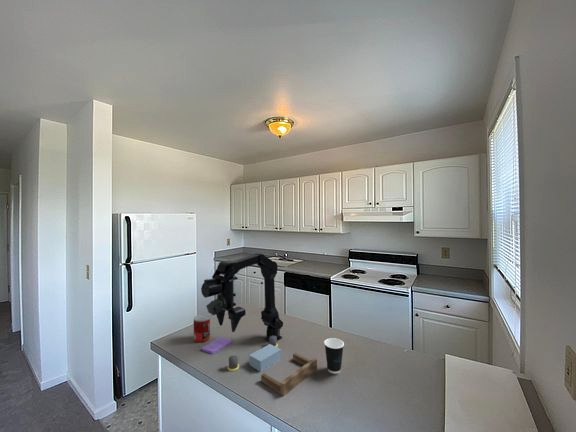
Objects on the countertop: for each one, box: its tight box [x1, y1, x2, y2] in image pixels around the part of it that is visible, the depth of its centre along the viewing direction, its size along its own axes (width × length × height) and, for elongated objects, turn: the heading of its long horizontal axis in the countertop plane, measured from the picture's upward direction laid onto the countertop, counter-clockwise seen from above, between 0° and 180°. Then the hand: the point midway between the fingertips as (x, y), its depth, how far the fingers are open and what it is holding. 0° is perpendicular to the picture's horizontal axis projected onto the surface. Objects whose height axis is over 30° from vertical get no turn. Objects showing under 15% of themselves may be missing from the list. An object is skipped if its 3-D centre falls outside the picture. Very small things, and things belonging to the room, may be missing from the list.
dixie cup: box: [323, 337, 345, 375], centre depth 102 cm, size 8×8×11 cm
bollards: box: [227, 336, 279, 372], centre depth 112 cm, size 28×5×4 cm, turn 139°
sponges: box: [201, 336, 233, 355], centre depth 121 cm, size 7×13×2 cm, turn 150°
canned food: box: [193, 314, 211, 343], centre depth 128 cm, size 8×8×11 cm
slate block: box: [248, 343, 282, 373], centre depth 108 cm, size 12×7×4 cm, turn 138°
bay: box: [260, 352, 318, 397], centre depth 99 cm, size 20×12×4 cm, turn 139°
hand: (227, 328), depth 107 cm, fingers open, 9 cm apart
